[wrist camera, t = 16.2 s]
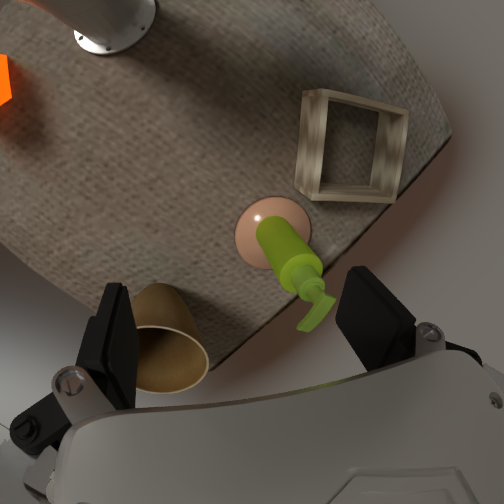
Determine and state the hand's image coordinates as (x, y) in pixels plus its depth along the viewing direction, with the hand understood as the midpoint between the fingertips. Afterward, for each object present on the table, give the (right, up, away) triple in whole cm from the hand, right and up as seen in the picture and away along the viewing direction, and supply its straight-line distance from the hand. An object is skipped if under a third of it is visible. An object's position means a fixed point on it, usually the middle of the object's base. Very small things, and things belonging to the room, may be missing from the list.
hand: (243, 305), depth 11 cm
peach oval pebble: (+4, +5, +37) cm, 37 cm away
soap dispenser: (+3, +5, +36) cm, 36 cm away
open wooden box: (+15, +20, +32) cm, 41 cm away
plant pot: (-16, -6, +38) cm, 42 cm away
